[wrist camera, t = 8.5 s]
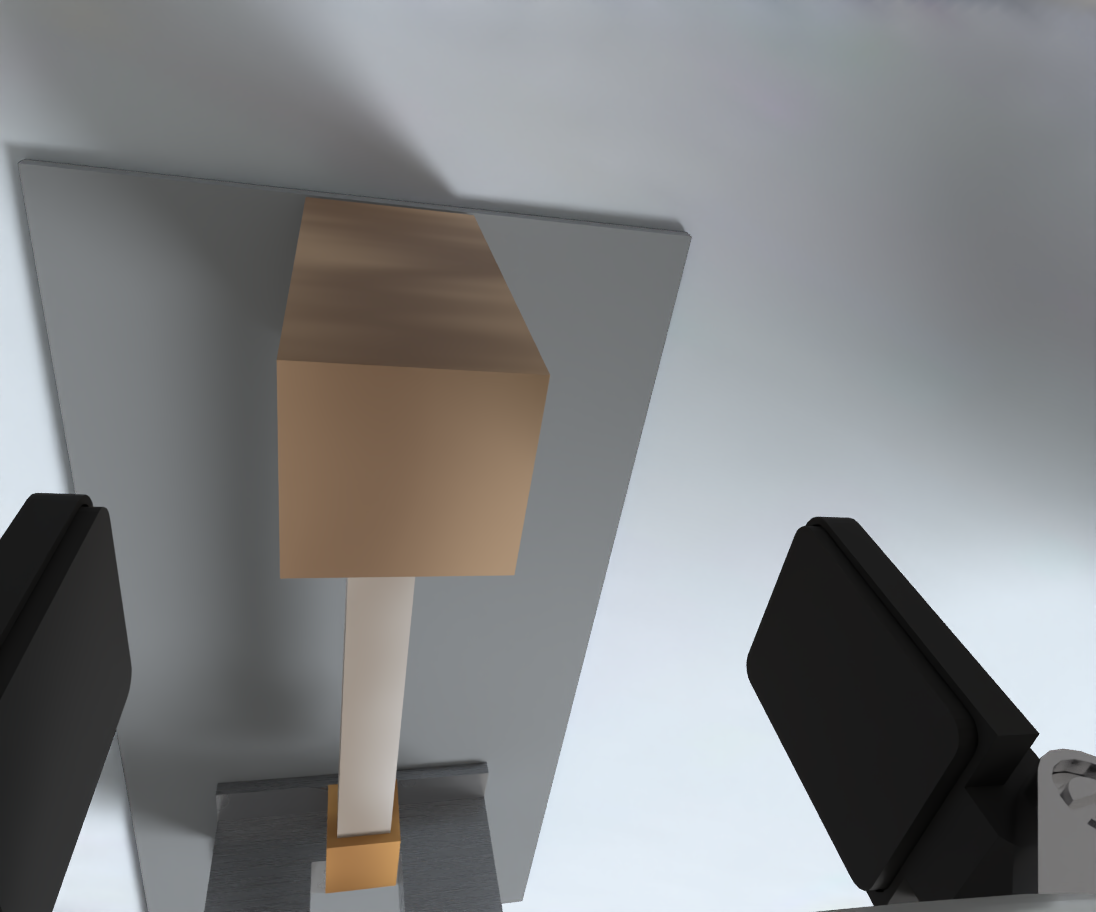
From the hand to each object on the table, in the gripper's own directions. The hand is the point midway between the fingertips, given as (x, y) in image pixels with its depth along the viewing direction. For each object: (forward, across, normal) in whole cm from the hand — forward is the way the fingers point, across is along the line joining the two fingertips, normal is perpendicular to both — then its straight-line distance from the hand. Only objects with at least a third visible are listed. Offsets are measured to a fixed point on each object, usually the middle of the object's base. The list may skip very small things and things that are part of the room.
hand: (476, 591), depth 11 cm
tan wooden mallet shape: (+11, +1, +8) cm, 14 cm away
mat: (+12, +1, +14) cm, 18 cm away
